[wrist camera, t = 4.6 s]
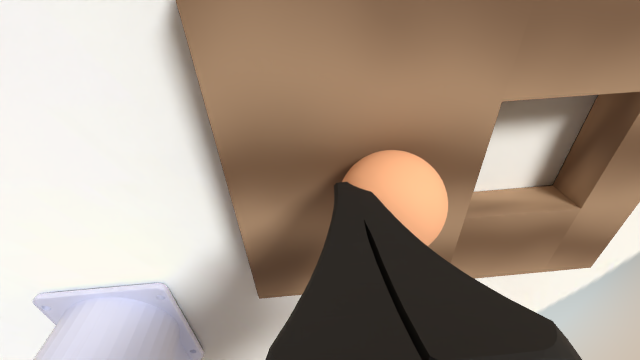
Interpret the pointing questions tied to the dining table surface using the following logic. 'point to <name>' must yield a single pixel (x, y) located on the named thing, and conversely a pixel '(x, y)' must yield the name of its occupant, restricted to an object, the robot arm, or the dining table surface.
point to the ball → (404, 190)
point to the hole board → (417, 119)
